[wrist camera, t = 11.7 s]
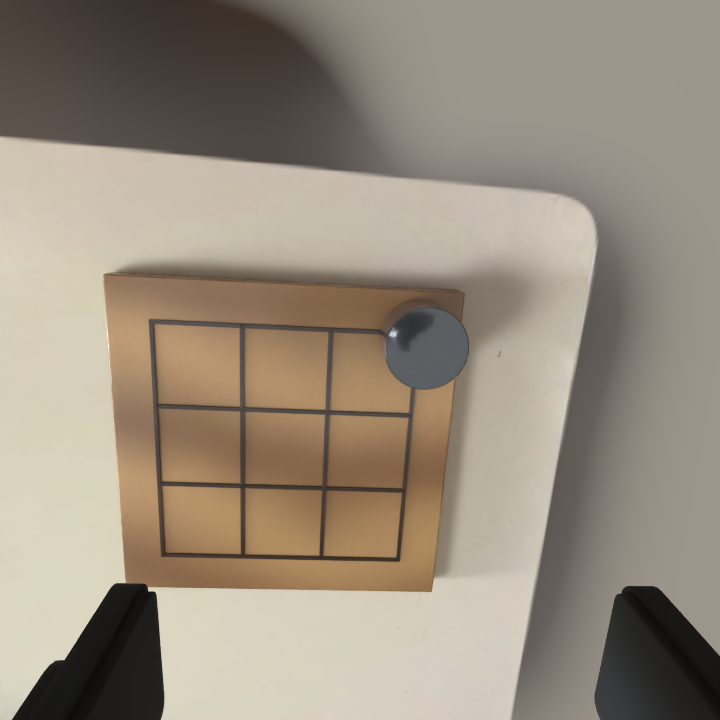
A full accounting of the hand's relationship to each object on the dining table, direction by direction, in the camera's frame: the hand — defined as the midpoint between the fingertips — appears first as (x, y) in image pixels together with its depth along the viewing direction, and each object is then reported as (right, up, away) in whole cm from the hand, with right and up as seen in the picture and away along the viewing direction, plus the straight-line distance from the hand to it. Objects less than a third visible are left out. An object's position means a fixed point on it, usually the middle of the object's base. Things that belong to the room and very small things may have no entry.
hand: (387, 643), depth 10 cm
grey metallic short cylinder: (+3, +7, +18) cm, 20 cm away
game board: (-5, +1, +21) cm, 21 cm away
